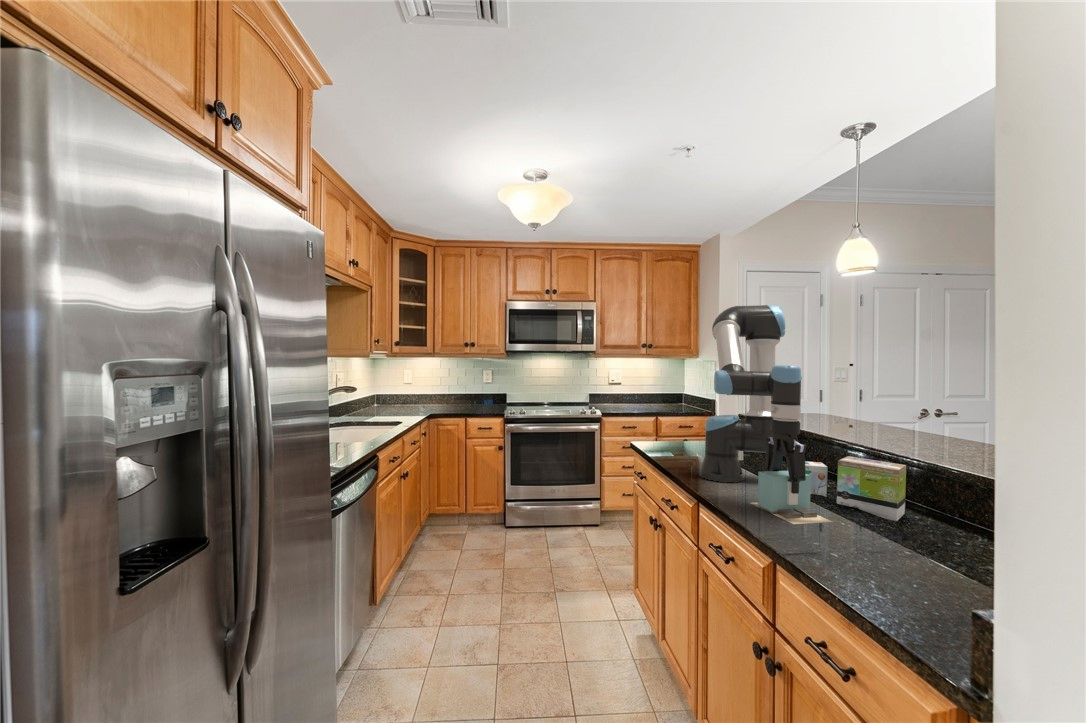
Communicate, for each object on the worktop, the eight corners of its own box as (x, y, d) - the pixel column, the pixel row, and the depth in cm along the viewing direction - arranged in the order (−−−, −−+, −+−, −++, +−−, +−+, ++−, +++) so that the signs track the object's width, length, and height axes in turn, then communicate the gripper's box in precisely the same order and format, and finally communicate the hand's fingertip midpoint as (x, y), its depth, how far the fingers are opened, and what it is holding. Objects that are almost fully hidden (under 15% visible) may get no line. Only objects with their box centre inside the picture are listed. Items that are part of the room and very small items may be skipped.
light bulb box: (790, 497, 149) (791, 463, 149) (785, 491, 155) (786, 459, 155) (827, 500, 146) (828, 466, 146) (821, 494, 152) (821, 462, 152)
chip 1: (777, 513, 127) (777, 509, 127) (790, 513, 128) (790, 508, 128) (787, 518, 123) (787, 514, 123) (800, 517, 124) (800, 513, 124)
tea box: (835, 508, 138) (836, 459, 138) (845, 502, 144) (846, 455, 144) (898, 522, 126) (899, 468, 126) (906, 514, 133) (906, 463, 133)
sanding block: (757, 506, 133) (758, 471, 133) (794, 504, 135) (795, 470, 135) (772, 513, 127) (772, 476, 127) (810, 511, 129) (810, 475, 129)
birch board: (749, 507, 137) (749, 502, 137) (785, 506, 139) (785, 501, 139) (793, 529, 119) (793, 524, 119) (833, 527, 121) (833, 521, 121)
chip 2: (793, 512, 128) (793, 508, 128) (805, 512, 129) (806, 508, 129) (804, 517, 124) (804, 513, 124) (817, 517, 125) (817, 512, 125)
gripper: (752, 415, 140) (750, 492, 139) (798, 423, 121) (796, 512, 121) (774, 415, 141) (773, 491, 141) (822, 423, 122) (821, 511, 122)
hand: (783, 500), depth 131 cm, fingers closed on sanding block, 6 cm apart
